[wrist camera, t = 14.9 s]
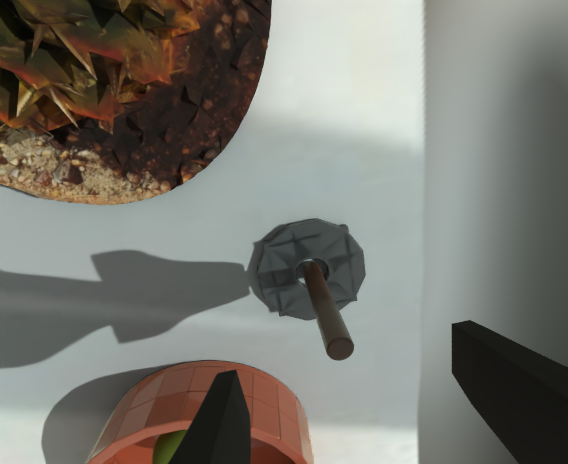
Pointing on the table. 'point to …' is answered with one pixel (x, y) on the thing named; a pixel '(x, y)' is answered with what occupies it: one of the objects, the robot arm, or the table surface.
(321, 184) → the table surface
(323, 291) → the stick
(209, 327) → the table surface
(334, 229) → the holder
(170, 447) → the olive
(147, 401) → the bowl
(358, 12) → the table surface
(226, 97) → the cactus
